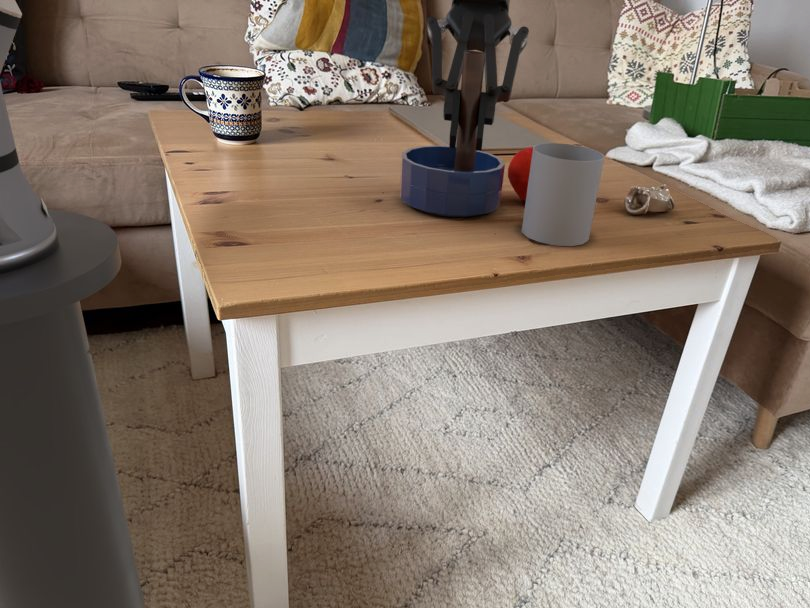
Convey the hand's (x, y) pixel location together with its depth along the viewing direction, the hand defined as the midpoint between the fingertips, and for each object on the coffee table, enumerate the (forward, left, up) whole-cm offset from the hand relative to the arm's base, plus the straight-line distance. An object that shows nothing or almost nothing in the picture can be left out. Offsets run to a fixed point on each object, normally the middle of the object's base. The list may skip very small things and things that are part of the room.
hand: (465, 142), depth 82 cm
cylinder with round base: (+1, +4, -6) cm, 7 cm away
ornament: (+27, +5, -9) cm, 29 cm away
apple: (+11, +7, -9) cm, 16 cm away
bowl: (-1, +4, -9) cm, 9 cm away
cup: (+11, -6, -9) cm, 16 cm away
